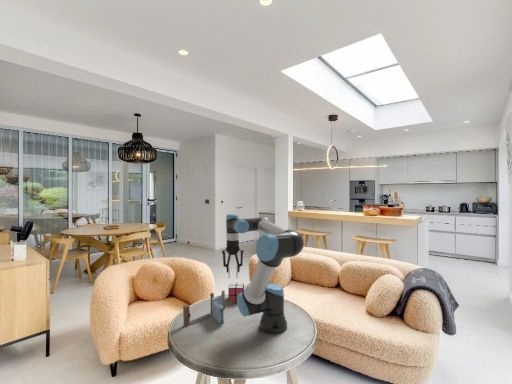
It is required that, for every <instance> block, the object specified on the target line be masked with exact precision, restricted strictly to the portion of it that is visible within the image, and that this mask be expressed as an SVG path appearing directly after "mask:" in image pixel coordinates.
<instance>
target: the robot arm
mask: <svg viewBox="0 0 512 384" xmlns="http://www.w3.org/2000/svg"><path fill="white" fill-rule="evenodd" d="M225 218H226V220H225V222H226V223H225V224H226V225H225V227H226V228H225V229H226V232H225V233H226V248H225V249H222V250H221V253H222V260H223V261H222V263H223V267H225V269H226V273H228V279H231V268H230V267H231V266H230V260H231V257H232V256H234V257H235V260H236V265H237V266H236V268H235V269H236V279H238V278H239V274H238V273H240V270H241V267H243V261H244V259H243V257H244V255H243V254H244V251H245V250H244V249H243V248H242V249H241V248H240V240H239V239H240V234H245V233H249V232H255V231H256V232H259V233H261V234H262V235H260V236H259V237H258V239H257V240H256V242H255V254H256V257H257V259H258V261H257V262H258V263H257V264H256V267H255V270H254V272H253V274H252V277H251V279H250V283H249V285H247V286H246V287H244V292H243V293H240V294H238V295H237V302H236V304H237V308H238V311H239V313H240V314H241V315H242V317H249V316H250V317H251V316H252V315H257V314H260V313H262V315H261V318H260V322H259V328H260V330H261V331H262V332H264V333H267V334H281V333H283V332H285V331H287V329H288V322H287V319H286V317H285V315H286V314H285V313H284V312H285V299H284V298H285V294H284V292H285V291H284V288H283V287H282V286H281V285H279V284H277V283H270V281H271V279H272V276H273V274H274V272H275V270H276V268H278V267H280V266H281V264H282V263H283V260H284V259H286V258H292V257H296V256H298V255H299V254H300V253H301V252H302V251H303V249H304V245H305V242H304V238H303V235H302V234H301V233H300V232H298V231H296V230H294V229H291V228H290V229H287V228H284V227H282V226H279V225H277V224H275V223H274V222H273V223H272V222H270V220H269V219H268V218H267V217H261V216H260V217H254V218H253V217H251V218H239V214H238V213H229V214H227V215H226V216H225ZM226 253H227V254H228V257H227V262H226ZM238 253H240V261H239V256H238Z"/></svg>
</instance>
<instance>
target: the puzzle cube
mask: <svg viewBox="0 0 512 384" xmlns="http://www.w3.org/2000/svg"><path fill="white" fill-rule="evenodd" d="M244 290H245V283H244V282H229V285H228V293H227V294H228V299H227V300H228V303H229V302H234V303H237V295H238V294H240V293H243V292H244Z"/></svg>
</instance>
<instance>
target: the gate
mask: <svg viewBox="0 0 512 384" xmlns="http://www.w3.org/2000/svg"><path fill="white" fill-rule="evenodd" d="M215 298H216V297H214V298H212V314H213V315H212V317H214V318H215V320H216V321H217V322H218V323H219V324H220V325H223V324H225V323H224V322H225V321H224V320H225V319H224V310H223V306H220V305H219V304H218V302H217V301H216V299H215Z"/></svg>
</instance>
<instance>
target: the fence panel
mask: <svg viewBox="0 0 512 384" xmlns="http://www.w3.org/2000/svg"><path fill="white" fill-rule="evenodd" d="M214 298H215V299H216V301H217V302H218V304H219V305H220V306H223V311H224V310H226V290H221V295H218V296H216V297H214Z"/></svg>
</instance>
